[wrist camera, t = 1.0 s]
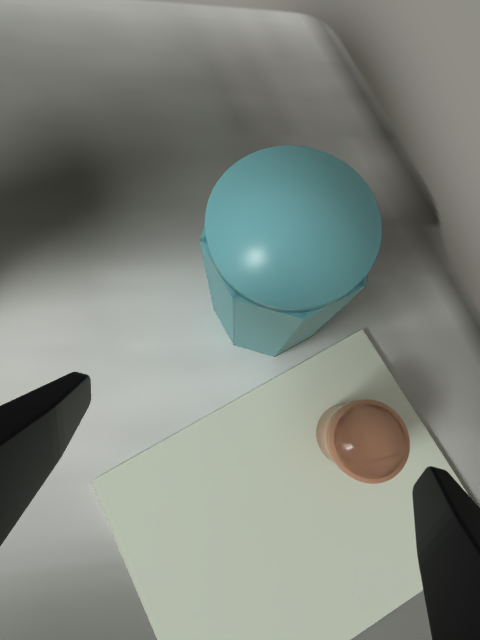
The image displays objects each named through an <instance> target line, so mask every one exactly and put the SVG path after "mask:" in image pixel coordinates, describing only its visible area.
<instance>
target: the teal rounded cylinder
mask: <svg viewBox="0 0 480 640" xmlns="http://www.w3.org/2000/svg"><path fill="white" fill-rule="evenodd" d="M381 238H382V221H381V215H380V211H379V207H378V204H377V202H376V199H375V197H374V195H373V193H372V191H371V190H370V188H369V186H368V185H367V184H366V182H365V181H364V180H363V179H362V177H361V176H360V175H359V174H358V173H357V172H356V171H355V170H354V169H353V168H351V167H350V166H349V165H347V164H346V163H345V162H343V161H342V160H340V159H338V158H337V157H335V156H333V155H330V154H328V153H326V152H323V151H320V150H317V149H314V148H309V147H304V146H277V147H270V148H266V149H263V150H259V151H257V152H254V153H252V154H250V155H248V156H246V157H244V158H242V159H241V160H239V161H238V162H236V163H235V164H234V165H232V166H231V167H230V168H229V169H228V170H227V171H226V172H225V173H224V174H223V175H222V177H221V178H220V179H219V180H218V182H217V183H216V185H215V187H214V188H213V190H212V193H211V195H210V197H209V200H208V204H207V207H206V214H205V227H204V229H203V232H202V235H201V238H200V246H201V250H202V255H203V260H204V265H205V269H206V274H207V279H208V284H209V288H210V293H211V298H212V303H213V307H214V310H215V312H216V314H217V315H218V317H219V319H220V321H221V323H222V324H223V326H224V328H225V330H226V332H227V334H228V335H229V337H230V339H231V341H232V343H233V345H236V346H239V347H243V348H246V349H250V350H253V351H256V352H260V353H263V354H267V355H270V356H274V357H275V356H277V355H278V354H280V353H282V352H284V351H286V350H287V349H289V348H291V347H293V346H295V345H296V344H298V343H300V342H302V341H304V340H305V339H307V338H309V337H311V336H312V335H313V334H314V333H315V332H317V331H318V330H319V329H320V328H321V327H322V326H323V325H324V324H325V323H326V322H327V321H329V320H330V319H331V318H332V317H333V316H334V315H335V314H336V313H337V312H338V311H339V310H341V309H342V308H343V307H344V306H345V305H346V304H347V303H348V302H349V301H350V300H351V299H353V298H354V297H355V296H356V295H357V294H358V293H359V292H360V291H361V290H362V289H363V288H365V286H366V281H367V276H368V272H369V270H370V269H371V267H372V266H373V264H374V262H375V260H376V257H377V255H378V252H379V248H380V245H381Z"/></svg>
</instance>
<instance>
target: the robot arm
mask: <svg viewBox="0 0 480 640" xmlns="http://www.w3.org/2000/svg"><path fill="white" fill-rule="evenodd" d="M90 401H91V381H90V377H89V376H88V375H86V374H82V373H79V372H72V373H70V374H67V375H65V376H63V377H61V378H59V379H57V380H55V381H53V382H50V383H48V384H46V385H44V386H42V387H40V388H38V389H35V390H33V391H31V392H29V393H27V394H25V395H23V396H20V397H18V398H16V399H14V400H12V401H10V402H8V403H5V404H3V405H1V406H0V546H1V544H2V543H3V542H4V540H5V539H6V537H7V536H8V534H9V533H10V531H11V530H12V528H13V527H14V525H15V524H16V523H17V521H18V520H19V518H20V517H21V515H22V514H23V512H24V511H25V509H26V508H27V507H28V505H29V504H30V502H31V501H32V499H33V498H34V496H35V495H36V493H37V492H38V490H39V489H40V488H41V486H42V485H43V483H44V482H45V480H46V479H47V477H48V476H49V474H50V473H51V471H52V470H53V469H54V467H55V466H56V464H57V463H58V461H59V460H60V458H61V456H62V455H63V453H64V451H65V449H66V448H67V446H68V444H69V442H70V440H71V438H72V436H73V435H74V433H75V431H76V429H77V427H78V425H79V423H80V422H81V420H82V418H83V416H84V414H85V412H86V410H87V409H88V407H89V404H90ZM412 497H413V510H414V523H415V535H416V548H417V557H418V563H419V569H420V574H421V580H422V585H423V591H424V596H425V602H426V607H427V613H428V618H429V624H430V629H431V635H432V640H480V508H479V507H478V506H477V505H476V503H475V502H474V501H473V500H472V499H471V498H470V497H469V495H468V494H467V493H466V492H465V491H464V490H463V489H462V487H461V486H460V485H459V484H458V483H457V482H456V481H455V479H454V478H453V477H452V476H451V475H450V474H449V473H448V472H447V471H446V470H444V469H440V468H436V467H433V466H429V467H427V468H426V469H425V470H424V472H423V473H422V474H421V476H420V477H419V479H418V480H417V481H416V483H415V484H414V486H413V491H412Z"/></svg>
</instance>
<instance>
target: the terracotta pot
mask: <svg viewBox="0 0 480 640" xmlns="http://www.w3.org/2000/svg"><path fill="white" fill-rule="evenodd" d="M316 438H317V442H318V445H319V448H320V450H321V451H322V453H323V454H324V455H325V456H326V457H327V458H328V459H329V460H330V461H332V462H334V463H335V464H336V465H337V466H338V467H339V468H340V469H341V470H342V471H343V472H344V473H346V474H347V475H348V476H350V477H352V478H354V479H355V480H358V481H360V482H364V483H369V484H378V483H383V482H386V481H388V480H390V479H392V478H394V477H395V476H396V475H397V474H398V473H399V472H400V471H401V470H402V469H403V468H404V466H405V464H406V462H407V459H408V456H409V452H410V439H409V434H408V430H407V428H406V425H405V423H404V422H403V420H402V419H401V417H400V416H399V415H398V414H397V412H396V411H394V410H393V409H392V408H391V407H389V406H388V405H386V404H384V403H382V402H379V401H376V400H369V399H364V400H355V401H351V402H348V403H346V404H339V405H335V406H332V407H330V408H329V409H327V410H326V411H325V412H324V413H323V414H322V416H321V417H320V419H319V421H318V424H317V428H316Z"/></svg>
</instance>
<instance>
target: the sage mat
mask: <svg viewBox="0 0 480 640" xmlns="http://www.w3.org/2000/svg"><path fill="white" fill-rule="evenodd" d="M364 399H369V400H376V401H379V402H382V403H384V404H386V405H388V406H389V407H391V408H392V409H393V410H394V411H396V412H397V414H398V415H399V416H400V417H401V419H402V420H403V422H404V423H405V425H406V428H407V430H408V434H409V439H410V452H409V456H408V459H407V462H406V464H405V466H404V468H403V469H402V470H401V471H400V472H399V473H398V474H397V475H396V476H395V477H394V478H392V479H390V480H388V481H386V482H383V483H378V484H369V483H364V482H360V481H358V480H355V479H354V478H352V477H350V476H348V475H347V474H346V473H344V472H343V471H342V470H341V469H340V468H339V467H338V466H337V465H336V464H335V463H334V462H332V461H330V460H329V459H328V458H327V457H326V456H325V455H324V454H323V453H322V451H321V450H320V448H319V445H318V442H317V438H316V428H317V424H318V421H319V419H320V417H321V416H322V414H323V413H324V412H325V411H326V410H327V409H329V408H330V407H332V406H335V405H339V404H346V403H348V402H351V401H355V400H364ZM429 466H433V467H436V468H440V469H444V470H446V471H447V472H448V473H449V474H450V475H451V476H452V477H453V478H454V479H455V481H456V482H457V483H458V484H459V485H460V486H461V487H462V489H463V490H464V491H465V492H466V490H465V489H464V487H463V486H462V484H461V482H460V481H459V479H458V478H457V476H456V475H455V473H454V471H453V470H452V468H451V467H450V465H449V464H448V462H447V461H446V459H445V457H444V456H443V454H442V453H441V451H440V450H439V448H438V446H437V445H436V443H435V442H434V440H433V439H432V437H431V435H430V434H429V432H428V431H427V429H426V428H425V426H424V424H423V423H422V421H421V420H420V418H419V417H418V415H417V414H416V412H415V410H414V409H413V407H412V406H411V404H410V403H409V401H408V399H407V398H406V396H405V395H404V393H403V392H402V390H401V388H400V387H399V385H398V384H397V382H396V381H395V379H394V378H393V376H392V374H391V373H390V371H389V370H388V368H387V367H386V365H385V363H384V362H383V360H382V359H381V357H380V356H379V354H378V352H377V351H376V349H375V348H374V346H373V345H372V343H371V342H370V340H369V338H368V337H367V335H366V334H365V332H364V331H363V329H361V330H360V331H358V332H356V333H354V334H352V335H351V336H349V337H347V338H345V339H343V340H342V341H340V342H338V343H336V344H335V345H333V346H331V347H329V348H327V349H326V350H324V351H322V352H320V353H319V354H317V355H315V356H313V357H311V358H310V359H308V360H306V361H304V362H302V363H301V364H299V365H297V366H295V367H294V368H292V369H290V370H288V371H286V372H285V373H283V374H281V375H279V376H277V377H276V378H274V379H272V380H270V381H269V382H267V383H265V384H263V385H261V386H260V387H258V388H256V389H254V390H253V391H251V392H249V393H247V394H245V395H244V396H242V397H240V398H238V399H236V400H235V401H233V402H231V403H229V404H228V405H226V406H224V407H222V408H220V409H219V410H217V411H215V412H213V413H212V414H210V415H208V416H206V417H204V418H203V419H201V420H199V421H197V422H195V423H194V424H192V425H190V426H188V427H187V428H185V429H183V430H181V431H179V432H178V433H176V434H174V435H172V436H171V437H169V438H167V439H165V440H163V441H162V442H160V443H158V444H156V445H154V446H153V447H151V448H149V449H147V450H146V451H144V452H142V453H140V454H138V455H137V456H135V457H133V458H131V459H130V460H128V461H126V462H124V463H122V464H121V465H119V466H117V467H115V468H113V469H112V470H110V471H108V472H106V473H105V474H103V475H101V476H99V477H97V478H96V479H94V480H92V481H91V484H92V486H93V488H94V491H95V493H96V496H97V498H98V500H99V503H100V505H101V507H102V510H103V512H104V514H105V517H106V519H107V522H108V524H109V526H110V529H111V531H112V533H113V536H114V538H115V540H116V543H117V545H118V548H119V550H120V552H121V555H122V557H123V559H124V562H125V564H126V566H127V569H128V571H129V574H130V576H131V578H132V581H133V583H134V585H135V588H136V590H137V592H138V595H139V597H140V600H141V602H142V604H143V607H144V609H145V611H146V614H147V616H148V618H149V621H150V623H151V626H152V628H153V630H154V633H155V635H156V637H157V640H351V639H352V638H354V637H355V636H357V635H358V634H359V633H361V632H362V631H364V630H365V629H367V628H368V627H370V626H371V625H373V624H374V623H375V622H377V621H378V620H380V619H381V618H383V617H384V616H386V615H387V614H389V613H390V612H391V611H393V610H394V609H396V608H397V607H399V606H400V605H402V604H403V603H405V602H406V601H407V600H409V599H410V598H412V597H413V596H415V595H416V594H418V593H419V592H421V591H422V590H423V585H422V580H421V574H420V569H419V563H418V557H417V548H416V535H415V523H414V510H413V497H412V491H413V486H414V484H415V483H416V481H417V480H418V479H419V477H420V476H421V474H422V473H423V472H424V470H425V469H426V468H427V467H429ZM466 493H467V492H466ZM467 494H468V493H467Z"/></svg>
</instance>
